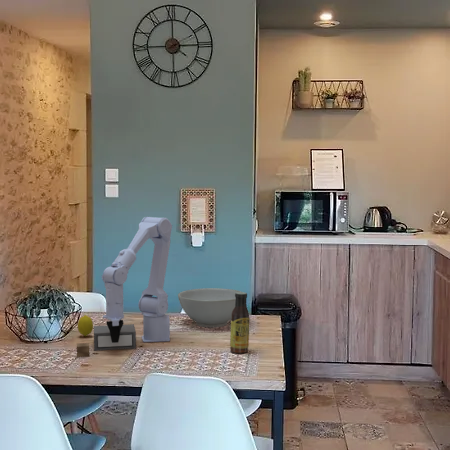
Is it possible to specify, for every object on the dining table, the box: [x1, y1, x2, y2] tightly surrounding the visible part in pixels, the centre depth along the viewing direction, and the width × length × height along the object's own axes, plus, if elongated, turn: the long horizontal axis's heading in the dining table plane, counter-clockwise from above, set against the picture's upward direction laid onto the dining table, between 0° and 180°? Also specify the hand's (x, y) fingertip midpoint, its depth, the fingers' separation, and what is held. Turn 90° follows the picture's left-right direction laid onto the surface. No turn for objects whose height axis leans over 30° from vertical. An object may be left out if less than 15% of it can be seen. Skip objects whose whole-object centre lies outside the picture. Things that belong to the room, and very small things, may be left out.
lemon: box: [77, 314, 94, 337], centre depth 236 cm, size 6×6×8 cm
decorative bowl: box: [177, 287, 242, 329], centre depth 257 cm, size 27×27×12 cm
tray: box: [98, 334, 132, 347], centre depth 224 cm, size 11×10×4 cm
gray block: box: [93, 323, 137, 352], centre depth 224 cm, size 14×11×6 cm
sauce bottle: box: [229, 291, 251, 354], centre depth 217 cm, size 6×6×20 cm
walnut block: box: [76, 342, 90, 358], centre depth 212 cm, size 4×4×4 cm
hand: (115, 342), depth 218 cm, fingers closed
